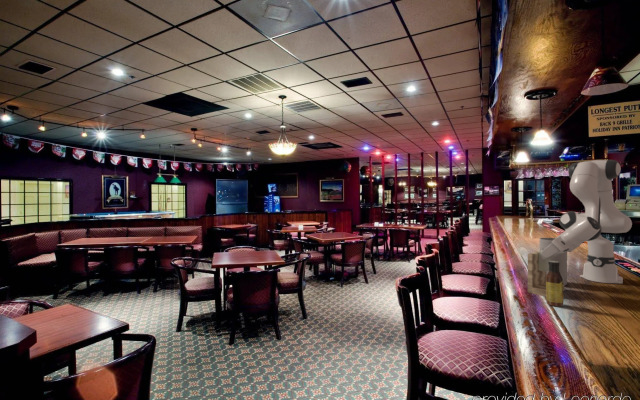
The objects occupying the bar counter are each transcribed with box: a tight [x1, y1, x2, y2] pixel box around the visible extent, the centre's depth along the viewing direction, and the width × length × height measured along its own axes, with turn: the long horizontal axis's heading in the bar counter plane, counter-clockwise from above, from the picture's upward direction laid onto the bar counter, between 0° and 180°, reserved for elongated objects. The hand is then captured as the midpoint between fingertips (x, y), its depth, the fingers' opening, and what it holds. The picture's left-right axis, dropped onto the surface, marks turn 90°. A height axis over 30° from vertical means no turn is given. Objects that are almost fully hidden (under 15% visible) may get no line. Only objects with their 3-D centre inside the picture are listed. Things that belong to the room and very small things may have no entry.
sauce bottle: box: [545, 261, 564, 307], centre depth 143 cm, size 7×6×20 cm
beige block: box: [537, 248, 550, 272], centre depth 163 cm, size 5×4×12 cm
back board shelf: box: [527, 249, 565, 297], centre depth 162 cm, size 18×10×20 cm, turn 125°
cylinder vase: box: [539, 237, 568, 286], centre depth 177 cm, size 12×12×25 cm
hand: (542, 259), depth 164 cm, fingers closed on beige block, 5 cm apart
